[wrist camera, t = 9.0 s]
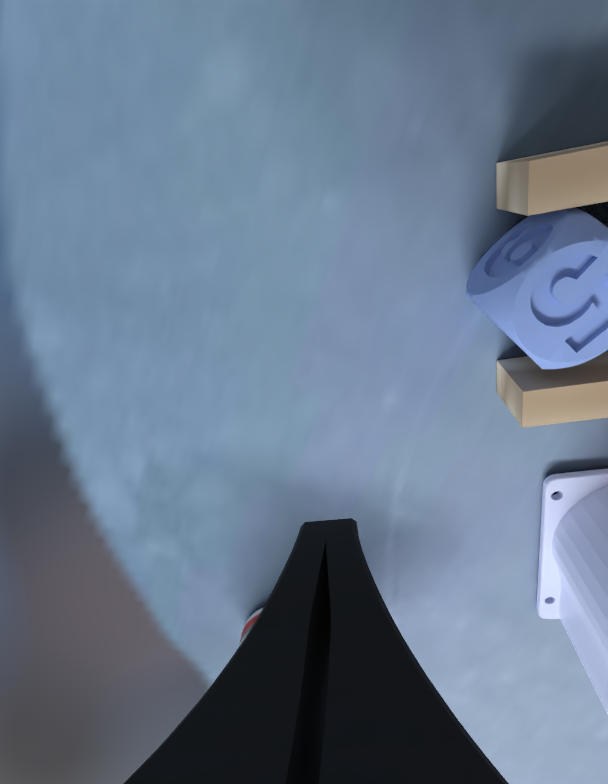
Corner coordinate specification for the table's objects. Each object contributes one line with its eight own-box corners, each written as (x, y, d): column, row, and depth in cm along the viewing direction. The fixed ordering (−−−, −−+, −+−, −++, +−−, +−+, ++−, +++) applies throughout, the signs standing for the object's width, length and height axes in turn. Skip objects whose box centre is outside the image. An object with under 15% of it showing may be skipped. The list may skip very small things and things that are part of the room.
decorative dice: (519, 346, 19) (561, 388, 15) (453, 282, 18) (482, 310, 14) (605, 272, 17) (676, 299, 14) (538, 198, 16) (596, 206, 13)
